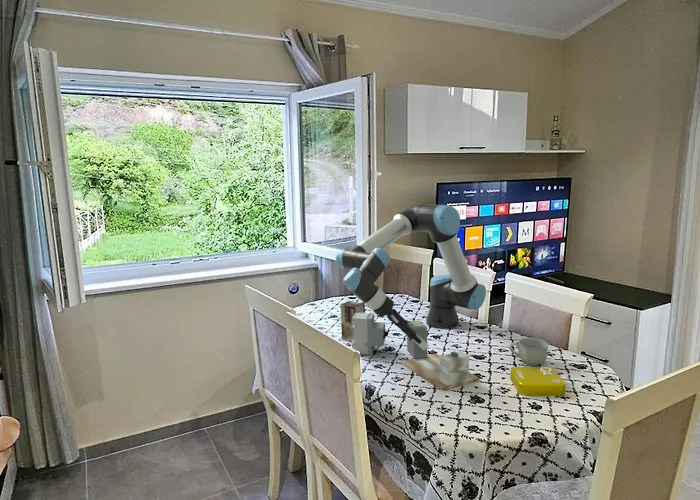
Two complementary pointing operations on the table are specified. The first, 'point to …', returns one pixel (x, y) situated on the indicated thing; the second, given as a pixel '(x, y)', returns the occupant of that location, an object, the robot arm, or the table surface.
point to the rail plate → (431, 375)
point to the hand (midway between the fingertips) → (423, 343)
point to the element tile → (537, 381)
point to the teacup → (531, 350)
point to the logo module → (411, 345)
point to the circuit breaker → (367, 333)
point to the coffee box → (349, 318)
